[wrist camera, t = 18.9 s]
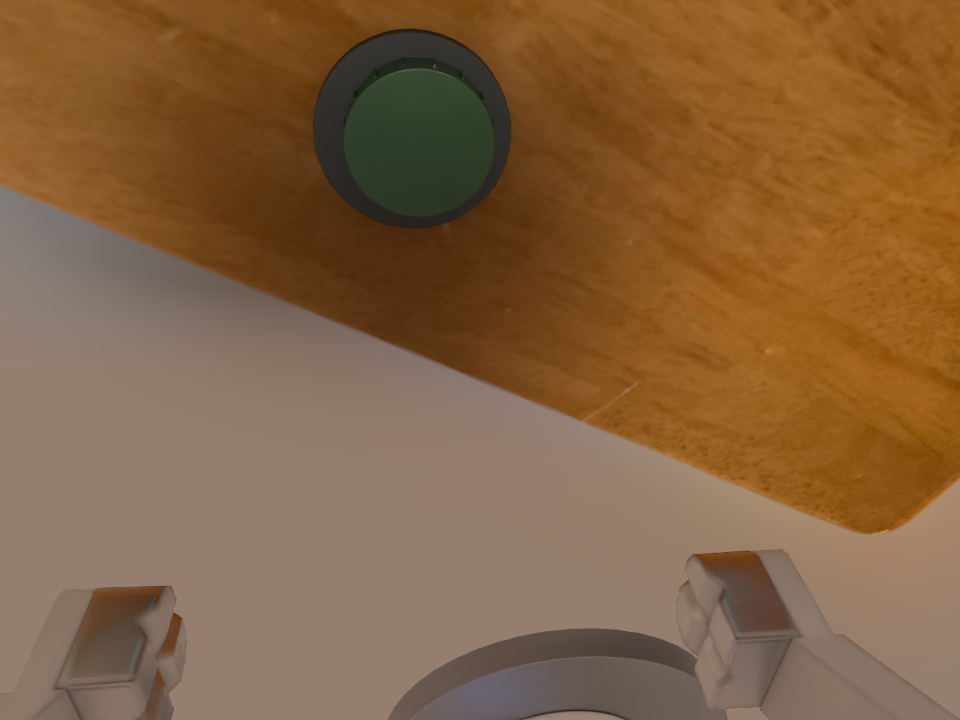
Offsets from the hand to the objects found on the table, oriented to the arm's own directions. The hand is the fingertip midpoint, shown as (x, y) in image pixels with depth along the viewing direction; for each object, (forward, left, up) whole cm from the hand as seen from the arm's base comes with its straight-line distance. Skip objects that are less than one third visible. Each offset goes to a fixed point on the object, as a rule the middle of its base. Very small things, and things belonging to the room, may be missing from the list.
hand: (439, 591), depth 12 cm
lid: (0, 0, -21) cm, 21 cm away
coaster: (0, 0, -23) cm, 23 cm away
